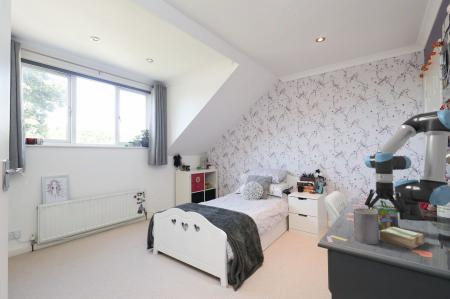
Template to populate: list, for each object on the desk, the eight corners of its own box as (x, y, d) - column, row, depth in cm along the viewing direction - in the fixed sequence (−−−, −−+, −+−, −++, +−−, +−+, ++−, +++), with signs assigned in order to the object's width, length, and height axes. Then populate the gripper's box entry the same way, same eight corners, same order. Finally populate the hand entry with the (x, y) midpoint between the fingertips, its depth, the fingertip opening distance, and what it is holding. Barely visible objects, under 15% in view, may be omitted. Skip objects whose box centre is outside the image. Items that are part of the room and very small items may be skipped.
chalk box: (401, 232, 110) (399, 203, 111) (380, 231, 112) (379, 202, 112) (390, 226, 119) (390, 199, 120) (372, 225, 121) (371, 198, 121)
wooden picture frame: (393, 234, 108) (392, 226, 108) (424, 243, 97) (423, 233, 97) (379, 239, 102) (379, 230, 102) (411, 249, 91) (410, 239, 91)
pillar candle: (358, 235, 108) (357, 204, 108) (382, 240, 101) (380, 207, 101) (351, 240, 102) (349, 208, 102) (376, 247, 94) (374, 212, 94)
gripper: (356, 179, 125) (358, 217, 125) (408, 184, 104) (410, 230, 103) (364, 179, 129) (365, 215, 128) (416, 183, 107) (417, 227, 107)
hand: (385, 222), depth 116 cm, fingers closed on chalk box, 12 cm apart
